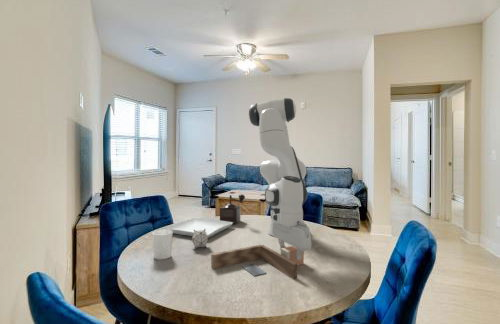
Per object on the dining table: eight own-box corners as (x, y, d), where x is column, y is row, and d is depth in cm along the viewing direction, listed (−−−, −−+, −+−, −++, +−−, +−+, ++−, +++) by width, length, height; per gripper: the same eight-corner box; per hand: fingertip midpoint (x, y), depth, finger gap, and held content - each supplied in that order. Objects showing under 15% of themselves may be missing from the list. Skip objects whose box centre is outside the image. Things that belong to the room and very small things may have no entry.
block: (296, 260, 111) (297, 245, 110) (303, 263, 107) (303, 248, 107) (280, 263, 107) (280, 248, 107) (287, 267, 103) (287, 251, 103)
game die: (202, 257, 123) (204, 243, 117) (185, 248, 124) (187, 235, 118) (211, 242, 130) (214, 228, 124) (195, 234, 131) (197, 220, 125)
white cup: (176, 254, 115) (176, 230, 115) (164, 261, 108) (164, 236, 108) (160, 252, 118) (160, 228, 118) (148, 258, 110) (148, 233, 110)
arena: (262, 256, 114) (262, 244, 114) (297, 278, 95) (297, 263, 95) (211, 267, 103) (211, 253, 103) (239, 294, 84) (239, 278, 83)
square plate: (234, 228, 157) (234, 221, 157) (207, 242, 132) (207, 234, 132) (194, 222, 168) (194, 216, 168) (162, 234, 143) (162, 227, 143)
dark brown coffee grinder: (218, 223, 165) (218, 193, 164) (225, 219, 176) (225, 191, 175) (243, 226, 161) (243, 195, 160) (248, 221, 171) (249, 192, 171)
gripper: (316, 224, 99) (315, 262, 99) (282, 213, 116) (281, 245, 117) (302, 226, 96) (301, 265, 96) (269, 214, 113) (269, 248, 114)
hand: (290, 254), depth 106 cm, fingers open, 8 cm apart
